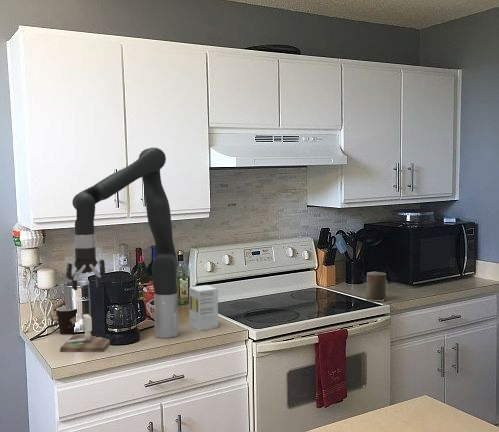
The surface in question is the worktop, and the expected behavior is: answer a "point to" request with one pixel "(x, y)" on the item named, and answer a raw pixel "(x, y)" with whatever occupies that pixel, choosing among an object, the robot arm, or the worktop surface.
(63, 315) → the coffee mug
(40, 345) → the worktop surface
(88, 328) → the tuning peg
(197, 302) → the supplement box
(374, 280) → the pillar candle
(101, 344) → the dial plate
